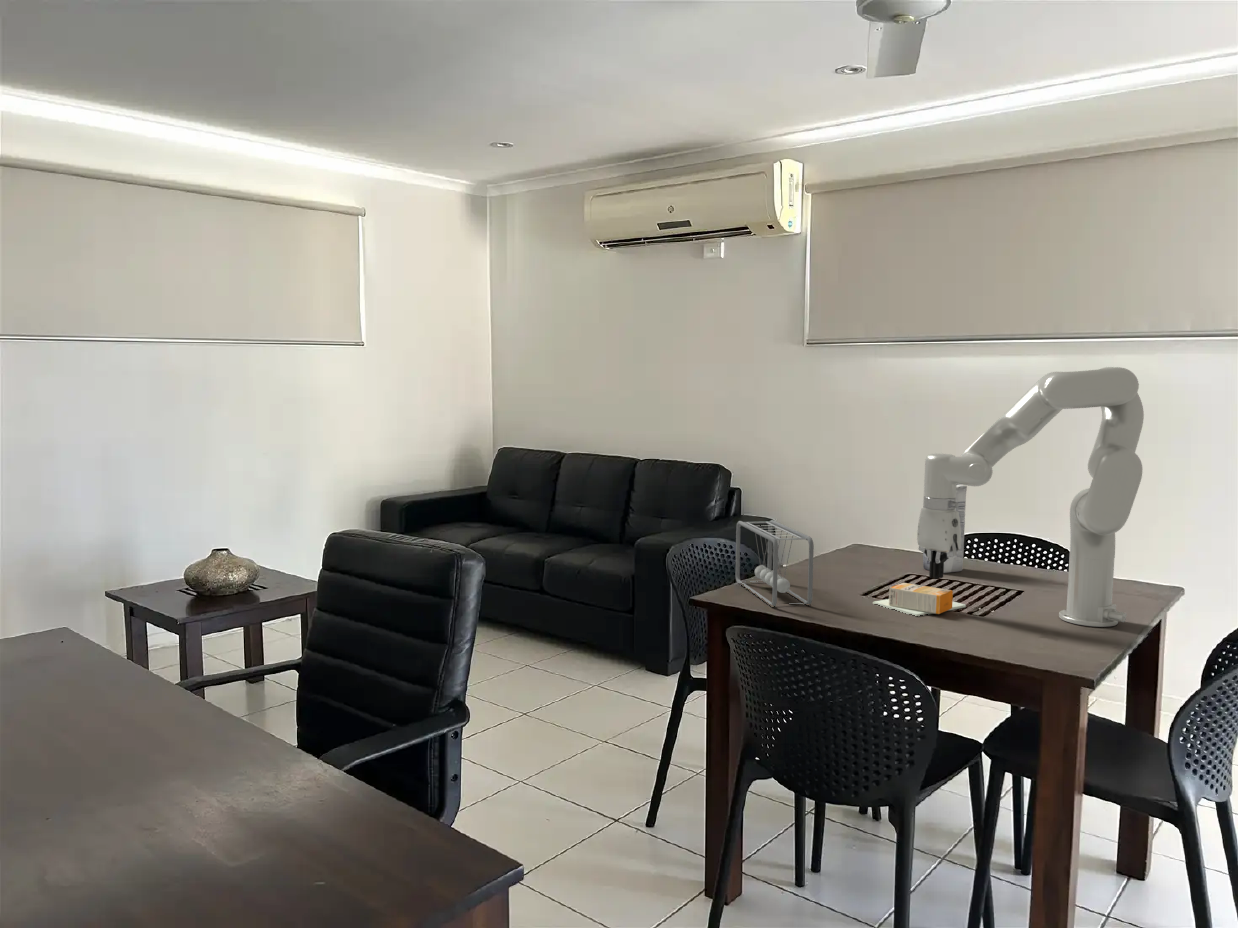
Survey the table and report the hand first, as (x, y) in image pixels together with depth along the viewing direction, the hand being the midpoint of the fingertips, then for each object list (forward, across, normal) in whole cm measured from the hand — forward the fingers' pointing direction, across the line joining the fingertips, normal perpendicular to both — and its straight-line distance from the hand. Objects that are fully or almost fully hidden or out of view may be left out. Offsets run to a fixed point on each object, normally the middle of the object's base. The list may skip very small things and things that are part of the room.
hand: (936, 577), depth 228 cm
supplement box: (+5, -4, +1) cm, 7 cm away
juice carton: (+8, +30, -39) cm, 50 cm away
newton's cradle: (+9, +33, +24) cm, 42 cm away
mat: (+8, +5, 0) cm, 10 cm away
